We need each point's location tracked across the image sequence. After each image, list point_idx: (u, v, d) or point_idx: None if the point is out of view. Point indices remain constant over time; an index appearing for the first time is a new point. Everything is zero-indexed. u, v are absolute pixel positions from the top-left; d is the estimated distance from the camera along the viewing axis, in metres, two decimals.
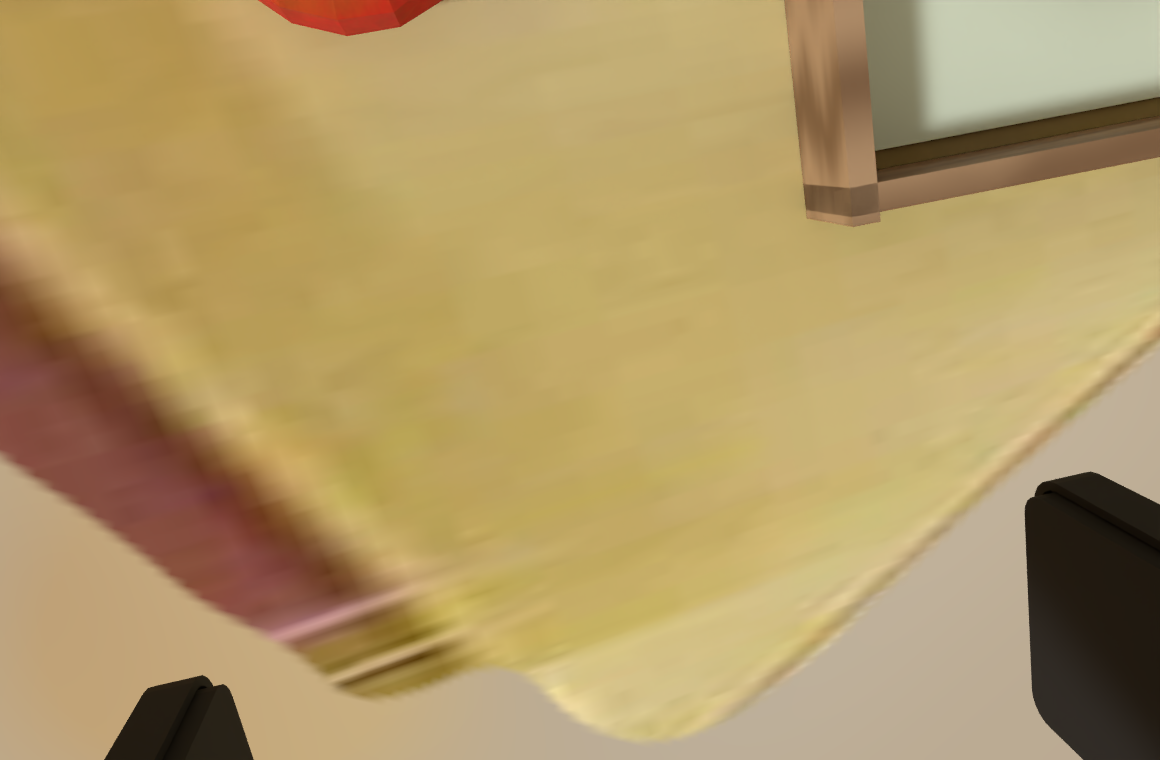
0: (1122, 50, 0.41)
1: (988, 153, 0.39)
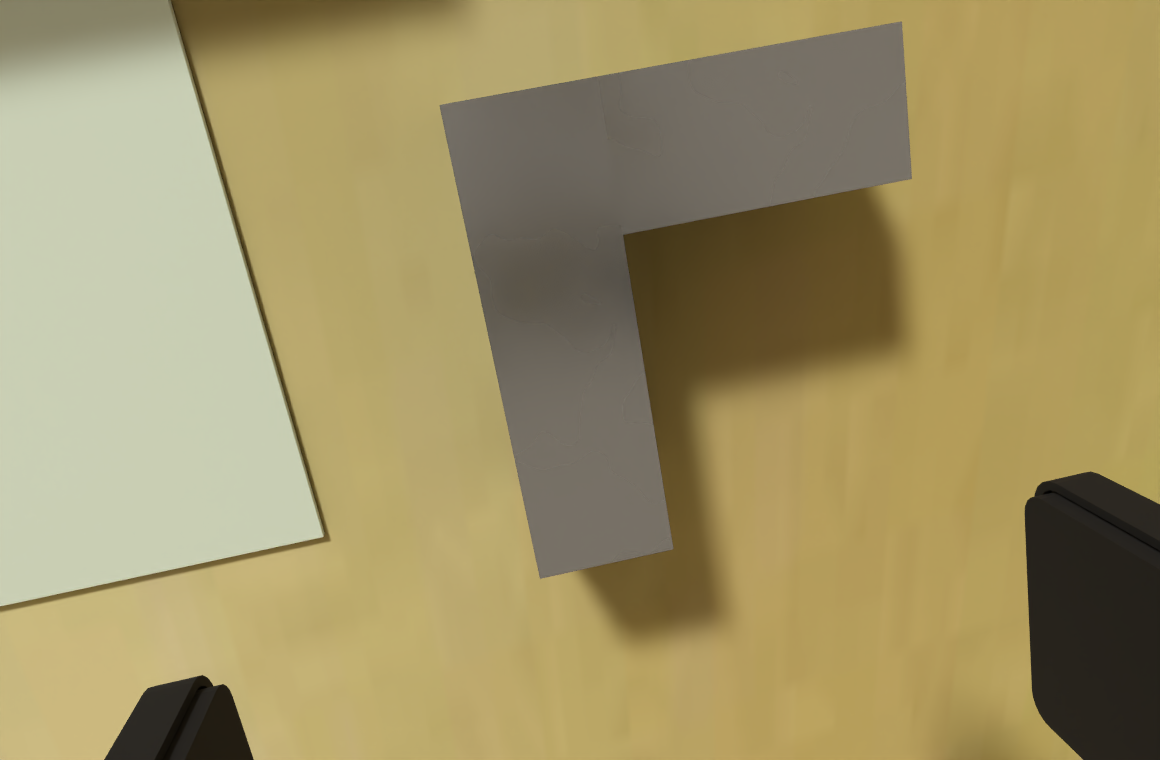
0: None
1: None
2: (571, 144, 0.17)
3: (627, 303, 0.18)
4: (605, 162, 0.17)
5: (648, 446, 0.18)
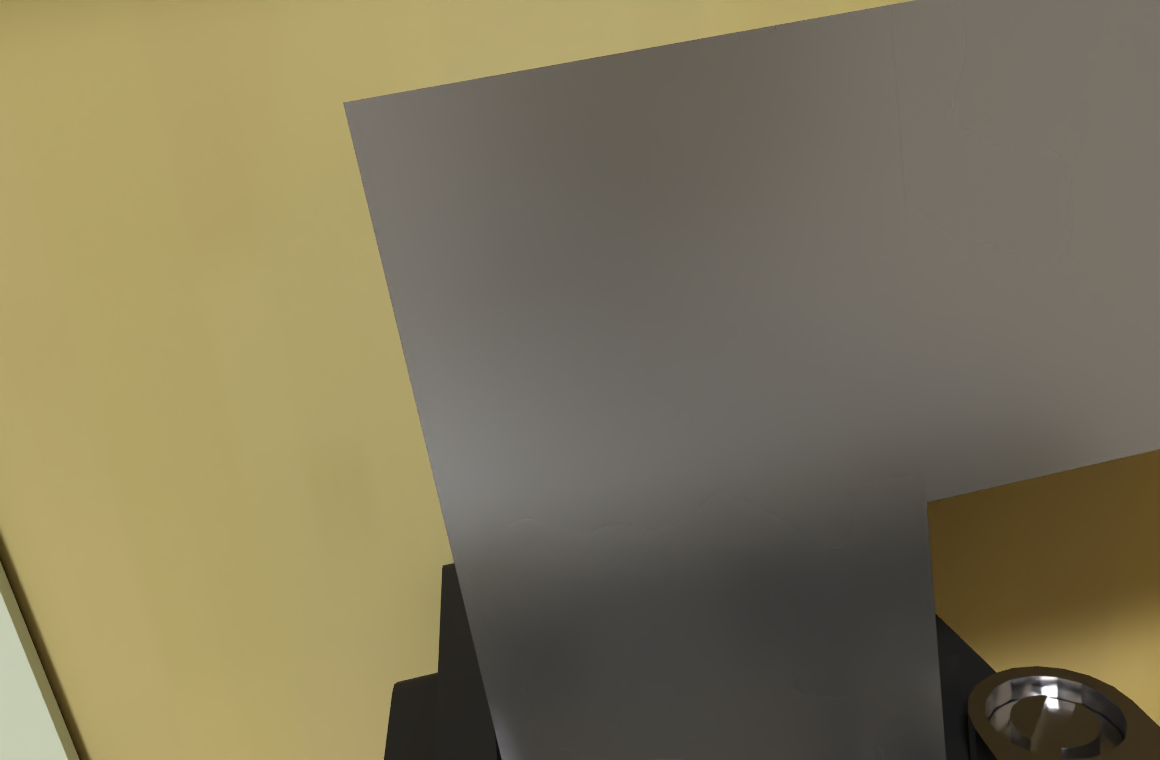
0: None
1: None
2: (788, 230, 0.05)
3: (922, 689, 0.06)
4: (892, 288, 0.05)
5: None
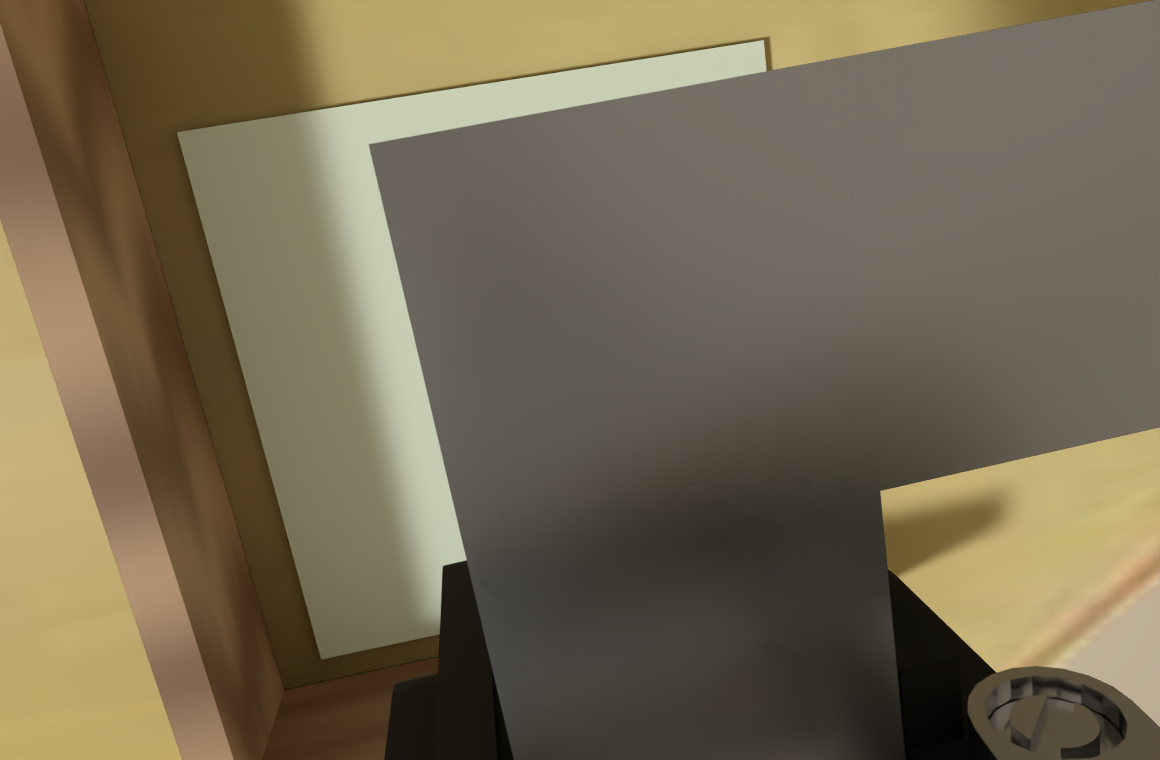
0: None
1: None
2: (753, 253, 0.06)
3: (879, 658, 0.07)
4: (846, 301, 0.06)
5: None
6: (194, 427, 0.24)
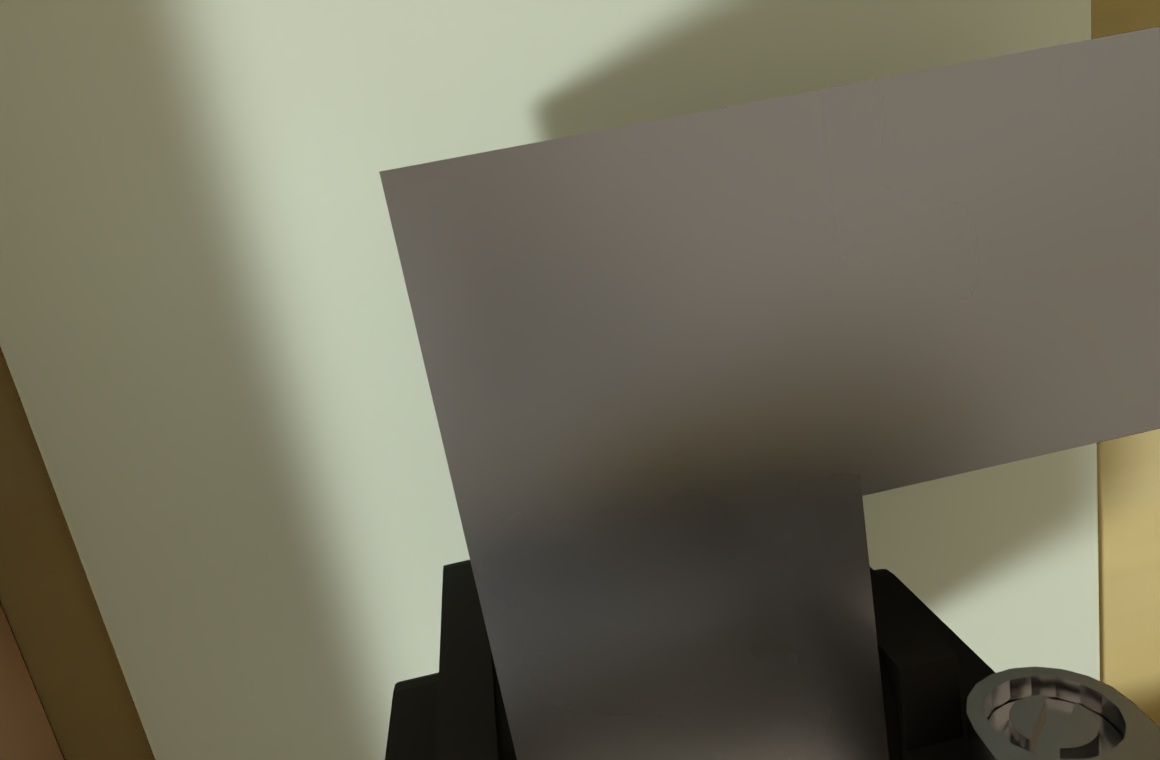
0: None
1: None
2: (741, 271, 0.06)
3: (863, 656, 0.07)
4: (828, 317, 0.06)
5: None
6: None
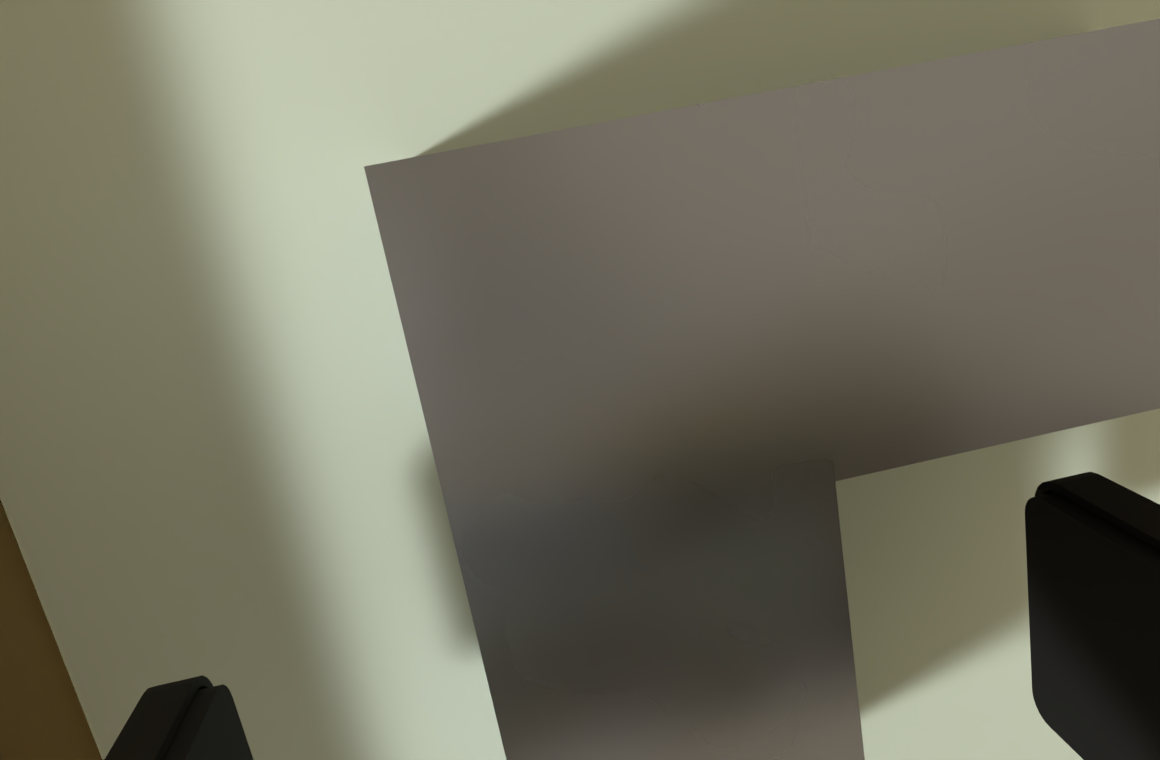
0: (1011, 724, 0.14)
1: None
2: (715, 263, 0.06)
3: (836, 636, 0.07)
4: (801, 308, 0.06)
5: None
6: None
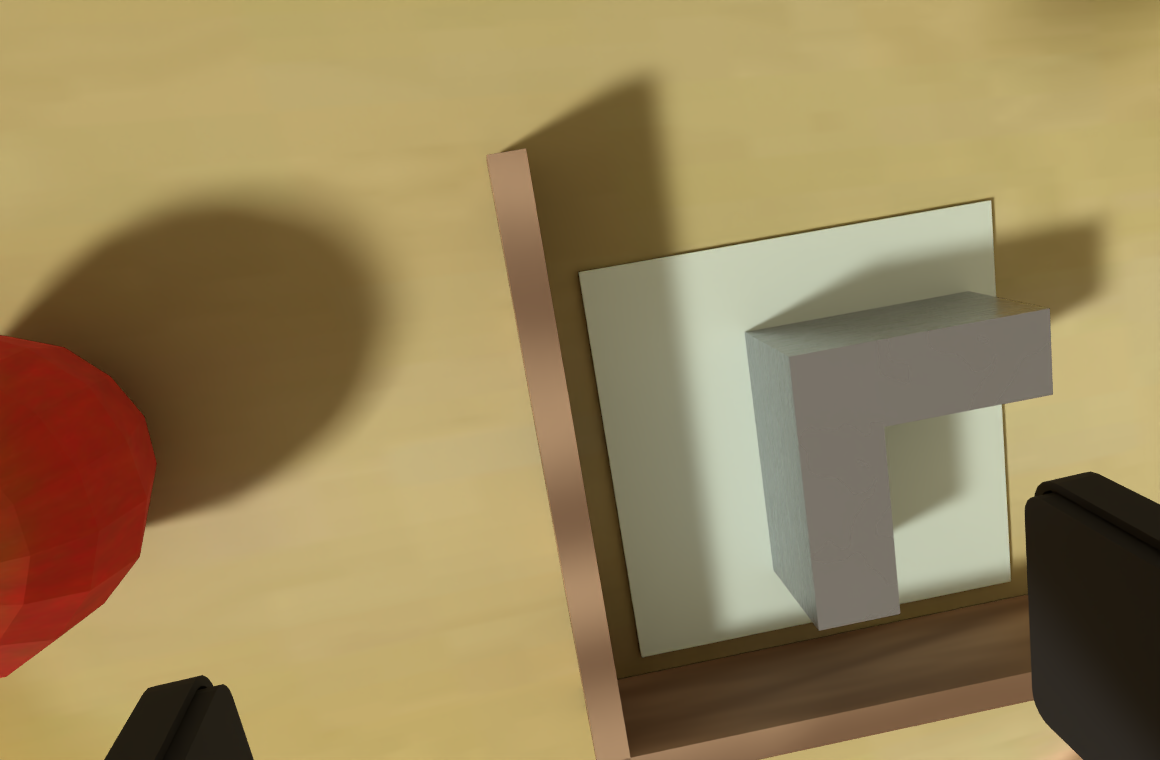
0: (946, 541, 0.36)
1: (783, 675, 0.34)
2: (859, 376, 0.29)
3: (883, 465, 0.30)
4: (877, 386, 0.29)
5: (890, 550, 0.30)
6: None
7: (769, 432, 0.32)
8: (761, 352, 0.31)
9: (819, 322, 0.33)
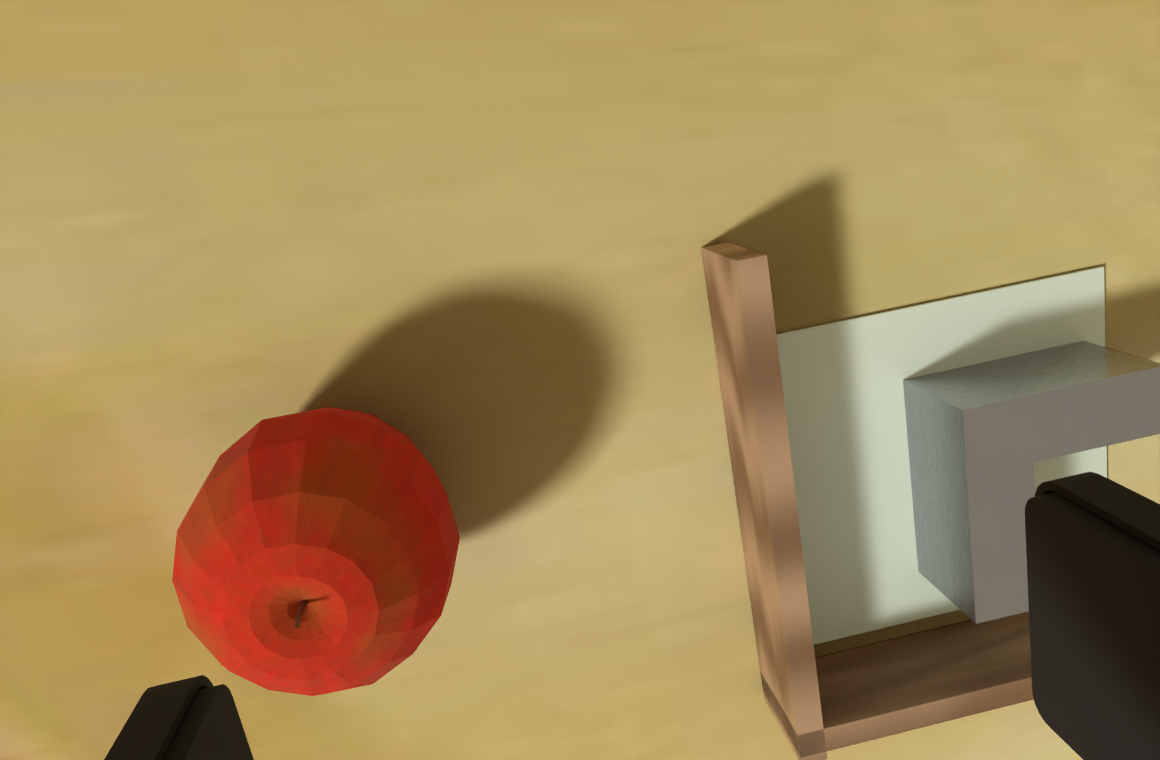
0: None
1: (931, 657, 0.42)
2: (1016, 424, 0.36)
3: (1032, 492, 0.37)
4: (1030, 431, 0.36)
5: None
6: None
7: (927, 463, 0.39)
8: (924, 400, 0.39)
9: (966, 371, 0.40)
